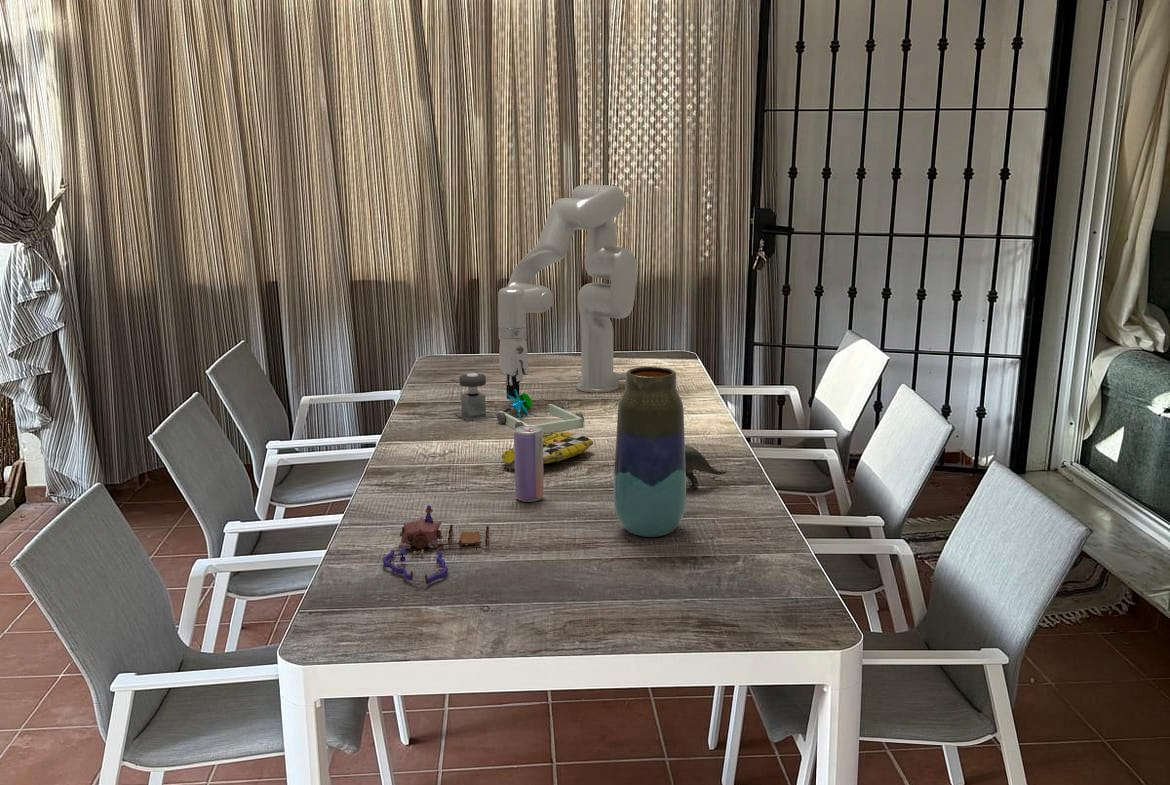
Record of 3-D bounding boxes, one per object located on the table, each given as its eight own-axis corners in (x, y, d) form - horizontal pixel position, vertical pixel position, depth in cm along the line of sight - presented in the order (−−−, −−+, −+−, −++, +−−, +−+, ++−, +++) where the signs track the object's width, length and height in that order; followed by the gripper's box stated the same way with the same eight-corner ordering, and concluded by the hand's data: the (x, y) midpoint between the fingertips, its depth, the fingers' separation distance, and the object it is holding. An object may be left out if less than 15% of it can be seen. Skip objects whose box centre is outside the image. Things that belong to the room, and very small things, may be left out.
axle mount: (481, 410, 288) (480, 389, 287) (493, 417, 281) (492, 395, 280) (454, 414, 284) (453, 393, 283) (465, 421, 277) (465, 399, 276)
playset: (488, 583, 177) (487, 545, 176) (376, 588, 176) (374, 550, 174) (489, 529, 201) (488, 496, 200) (390, 533, 200) (388, 499, 198)
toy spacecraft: (486, 466, 241) (485, 445, 239) (550, 443, 258) (549, 424, 257) (540, 479, 231) (540, 458, 229) (603, 455, 248) (603, 435, 247)
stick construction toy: (523, 416, 276) (508, 390, 276) (503, 428, 279) (488, 403, 279) (540, 409, 287) (527, 384, 288) (521, 421, 290) (507, 396, 290)
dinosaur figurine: (727, 487, 224) (729, 437, 221) (719, 500, 216) (721, 448, 213) (630, 477, 231) (630, 429, 228) (619, 489, 223) (619, 439, 220)
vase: (664, 548, 191) (666, 383, 183) (600, 534, 198) (599, 374, 191) (697, 525, 202) (701, 368, 195) (635, 512, 209) (636, 360, 202)
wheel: (479, 388, 286) (479, 370, 285) (490, 393, 280) (489, 375, 279) (456, 391, 282) (455, 373, 281) (466, 397, 276) (465, 378, 275)
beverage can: (522, 504, 214) (520, 434, 211) (510, 495, 219) (509, 427, 216) (548, 499, 217) (547, 430, 213) (536, 491, 222) (535, 423, 219)
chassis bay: (555, 411, 286) (555, 401, 286) (587, 427, 271) (587, 416, 270) (494, 420, 278) (493, 410, 277) (523, 437, 262) (523, 425, 262)
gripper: (536, 336, 277) (536, 403, 281) (513, 328, 290) (514, 391, 294) (510, 338, 274) (511, 406, 278) (488, 329, 286) (489, 394, 291)
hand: (513, 398), depth 286 cm, fingers closed
